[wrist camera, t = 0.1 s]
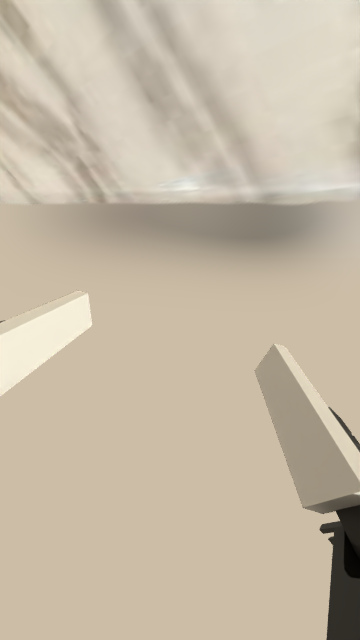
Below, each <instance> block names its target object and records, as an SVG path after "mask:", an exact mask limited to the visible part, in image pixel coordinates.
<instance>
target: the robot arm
mask: <svg viewBox="0 0 360 640" xmlns="http://www.w3.org/2000/svg"><path fill="white" fill-rule="evenodd" d="M90 326H92V321H91V312H90V304H89V295H88V293H86V292H83V291H79V290H78V291H75V292H72V293H70V294H68V295H65V296H63V297H60V298H58V299H56V300H53V301H51V302H49V303H46V304H44V305H42V306H39V307H37V308H34V309H32V310H29V311H27V312H25V313H22V314H20V315H17V316H15V317H13V318H10V319H8V320H4V321H1V322H0V396H1V395H3V394H4V393H5V392H6V391H8V390H9V389H10V388H12V387H13V386H14V385H16V384H17V383H18V382H19V381H21V380H22V379H23V378H25V377H26V376H27V375H28V374H30V373H31V372H32V371H33V370H35V369H36V368H38V367H39V366H40V365H41V364H43V363H44V362H45V361H47V360H48V359H49V358H50V357H52V356H53V355H54V354H56V353H57V352H58V351H59V350H61V349H62V348H63V347H64V346H66V345H67V344H69V343H70V342H71V341H72V340H74V339H75V338H76V337H78V336H79V335H80V334H82V333H83V332H84V331H85V330H87V329H88V328H89V327H90ZM255 373H256V376H257V379H258V382H259V385H260V388H261V390H262V393H263V396H264V399H265V401H266V404H267V407H268V410H269V413H270V416H271V419H272V422H273V424H274V427H275V430H276V433H277V436H278V438H279V441H280V444H281V447H282V450H283V453H284V456H285V458H286V461H287V464H288V467H289V470H290V472H291V475H292V478H293V481H294V484H295V487H296V490H297V493H298V495H299V498H300V501H301V504H302V507H303V508H305V509H309V510H312V511H315V512H318V513H322V514H324V513H329V512H333V511H336V513H337V515H338V517H339V519H340V521H338V522H332V523H327V524H322V525H321V527H320V531H321V532H322V533H323V534H324V533H331V532H334V536H333V537H330V538H329V539H328V540H329V541H330V542H331V543H332V544H333V556H332V571H331V585H330V600H329V613H328V627H327V628H328V629H327V640H360V444H359V442H358V441H357V440H356V438H355V437H354V436H352V434H351V431H350V430H349V429H348V427H347V426H346V425H345V423H344V422H343V421H342V419H341V418H340V417H339V416H338V415H337V414H336V413H335V412H334V411H333V410H332V409H331V408H330V407H327V405H326V404H325V403H324V401H323V399H322V398H321V397H320V395H319V394H318V392H317V391H316V390H315V388H314V387H313V386H312V384H311V382H310V381H309V380H308V378H307V377H306V375H305V374H304V373H303V371H302V370H301V368H300V367H299V366H298V364H297V363H296V361H295V360H294V358H293V357H292V356H291V354H290V353H289V351H288V350H287V349H286V347H284V346H281V345H277V344H273V346H272V347H271V348H270V350H269V351H268V352H267V354H266V355H265V357H264V358H263V360H262V361H261V362H260V364H259V365H258V367H257V368H256V369H255Z"/></svg>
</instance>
